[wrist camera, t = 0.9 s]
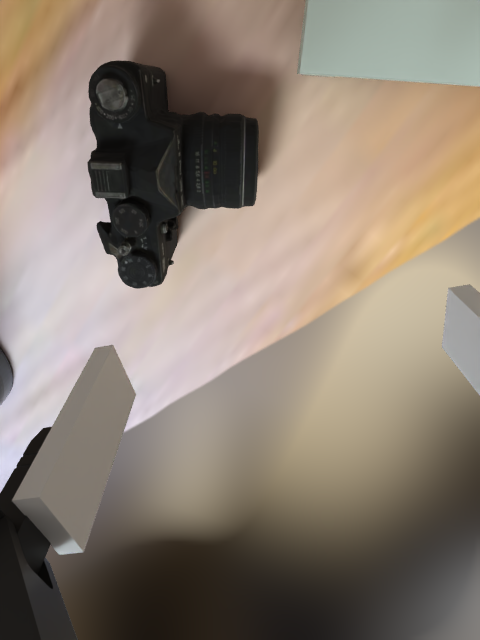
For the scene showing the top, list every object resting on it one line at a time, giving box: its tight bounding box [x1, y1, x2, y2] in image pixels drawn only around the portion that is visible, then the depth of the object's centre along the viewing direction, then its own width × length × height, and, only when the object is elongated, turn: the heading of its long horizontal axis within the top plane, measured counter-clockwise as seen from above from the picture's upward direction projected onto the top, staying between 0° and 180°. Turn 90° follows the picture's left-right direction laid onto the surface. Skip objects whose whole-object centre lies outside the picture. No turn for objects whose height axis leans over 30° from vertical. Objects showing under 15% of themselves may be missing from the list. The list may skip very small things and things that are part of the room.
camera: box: [88, 61, 258, 288], centre depth 27 cm, size 14×11×10 cm
